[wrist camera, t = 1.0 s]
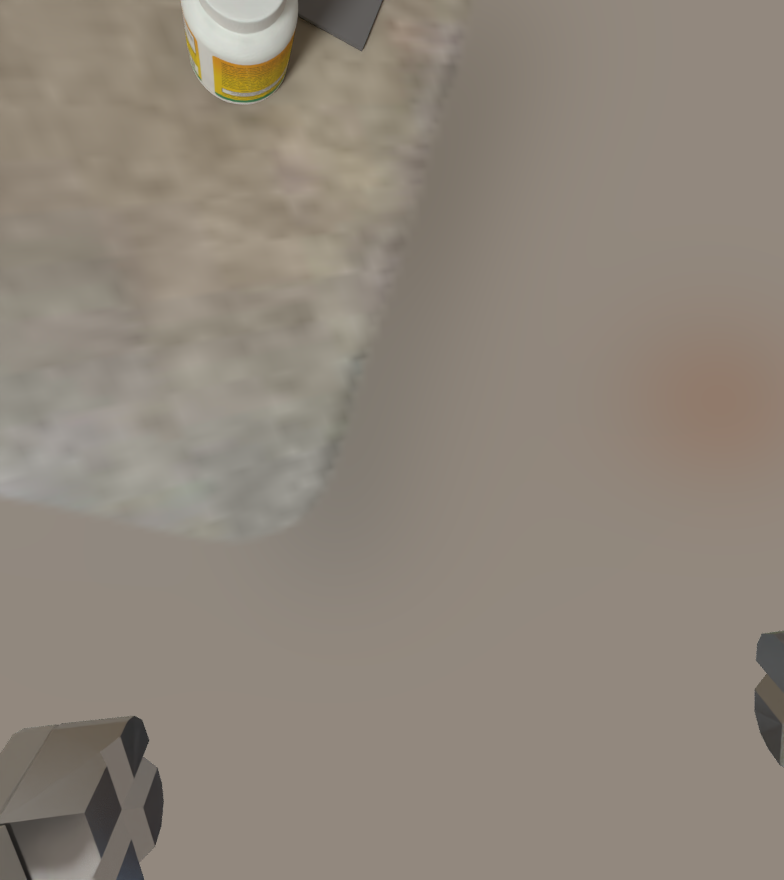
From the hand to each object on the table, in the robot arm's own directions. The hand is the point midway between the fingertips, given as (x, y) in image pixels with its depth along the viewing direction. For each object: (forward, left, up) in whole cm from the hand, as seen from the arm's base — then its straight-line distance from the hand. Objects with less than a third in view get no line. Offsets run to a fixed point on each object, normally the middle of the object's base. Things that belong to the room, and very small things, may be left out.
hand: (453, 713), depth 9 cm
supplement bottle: (-10, +18, -34) cm, 40 cm away
